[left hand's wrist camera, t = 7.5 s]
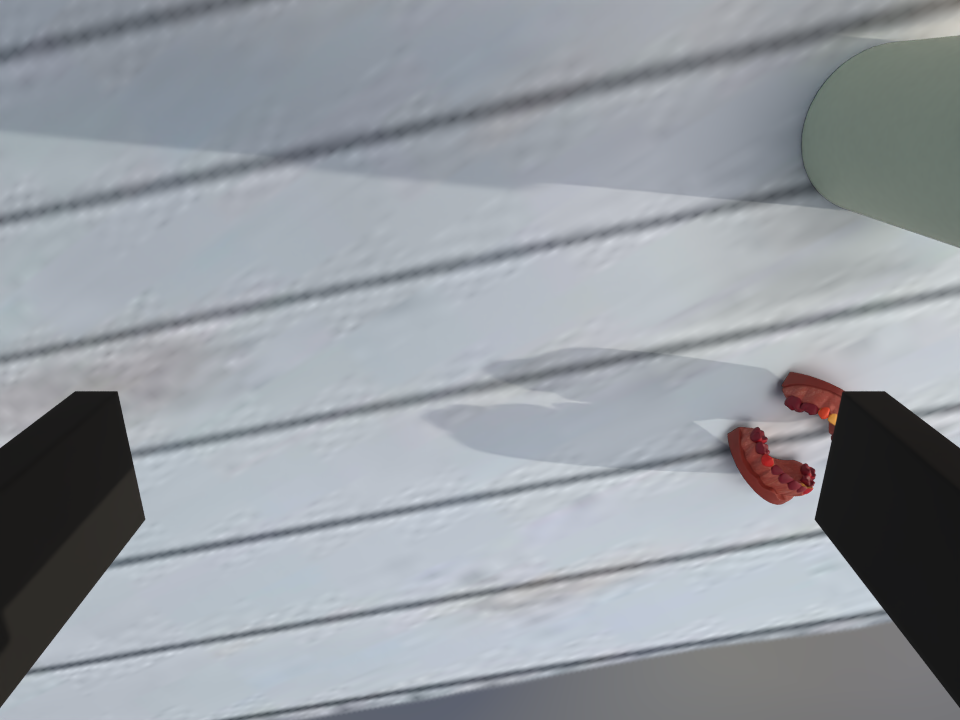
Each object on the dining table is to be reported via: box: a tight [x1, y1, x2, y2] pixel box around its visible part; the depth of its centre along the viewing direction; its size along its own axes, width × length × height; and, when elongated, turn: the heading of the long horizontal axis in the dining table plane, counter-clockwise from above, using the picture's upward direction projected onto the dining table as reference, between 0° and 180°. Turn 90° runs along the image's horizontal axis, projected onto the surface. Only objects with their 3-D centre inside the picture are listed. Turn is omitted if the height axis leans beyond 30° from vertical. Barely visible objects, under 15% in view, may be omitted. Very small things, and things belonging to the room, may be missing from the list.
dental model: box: [728, 372, 843, 505], centre depth 42 cm, size 6×4×8 cm
